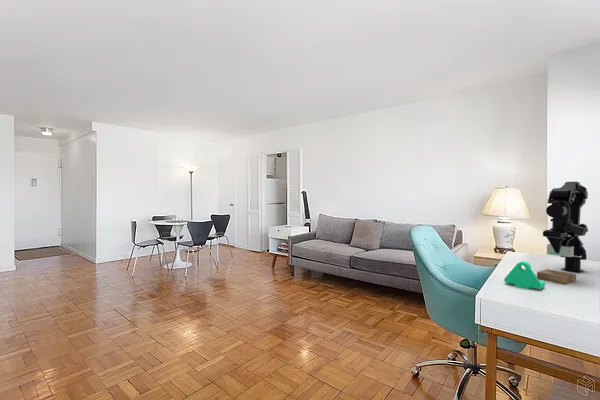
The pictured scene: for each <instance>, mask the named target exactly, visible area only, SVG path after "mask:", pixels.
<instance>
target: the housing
mask: <svg viewBox="0 0 600 400" xmlns="http://www.w3.org/2000/svg"><path fill="white" fill-rule="evenodd" d="M546 255H551V256H557V257H560V256H565V257H572V256H574V246H567V245H561V247H560V251H559V253H555V251H554V249H553V247H552V245H551V244H550V243H548V244H547V245H546ZM565 257H564V258H565Z"/></svg>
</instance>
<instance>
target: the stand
mask: <svg viewBox="0 0 600 400" xmlns="http://www.w3.org/2000/svg"><path fill="white" fill-rule="evenodd" d="M536 277H537V278H538V280H540V281H545V280H546V282H550V281H551V283H555V284H560V285H564V286H566V285H570V284H572V283H574V282H577V281H576V280H577V274H576V273H570V272H567V271H565V272H564V271H562V270H560V271H559V270H555V269H549V268H547V269H543V270H540V271H537V272H536Z"/></svg>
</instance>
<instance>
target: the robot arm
mask: <svg viewBox="0 0 600 400" xmlns="http://www.w3.org/2000/svg"><path fill="white" fill-rule="evenodd" d="M588 198H589V193H588V190H587V187H585V186H584V185H582V184H581V182H578V181H566V182H564V184H563V185H562V186H561V187H557V188H552V189H551V190H550V191H549V195H548V199H547V204H550V205H548V206H547V207H546V210H545V211H546V215H547V216H549V217H550V222H551V226H552V227H551V228H550V229H545V230H543V231H542V237H545V238H546V239H547V240H548V242H549V244H551V245H552V247H553V249H554V251H555V253H559V251H560V247H561V245H567V246H574V256H572V257H565V256H559V257H560V258H564V267H563V268H561V271H562V270H563V271H566V272H567V271H568V272H573V273H581V272H584V269H581V268H582V267H581V265H582V263H581V262H582V261H584V260H585V261H586V260H587V258H588V257H587V250H586V249H585V247H584V243H583V242H582V240H581V239H580V237H583V236H586V234H587V233H588V232H589V228H588V225H587V224H584V223H581V210H582V207H583V206H584V205H585V204H586V202H587V199H588Z"/></svg>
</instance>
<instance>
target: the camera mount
mask: <svg viewBox="0 0 600 400" xmlns="http://www.w3.org/2000/svg"><path fill="white" fill-rule="evenodd" d="M522 266H523V267H524V268H525V269H524V268H522ZM503 280H504V283H507V284H512V285H514V287H515V288H516V287H517V288H521V289H526V290H531V288H533V289H539V290H542V289H543V288H544V287H545V286H546V282H545V280H541V279H538V278H537V274H535V272H534V271H533V270H532V266H531V264H530V263H529V262H528V261H520V262H518V263H516V265H515V266H514V267H513V268H512V269H511V270H510V271H509V273H508V274H507V275H506V276H505V277H504V279H503Z"/></svg>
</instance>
